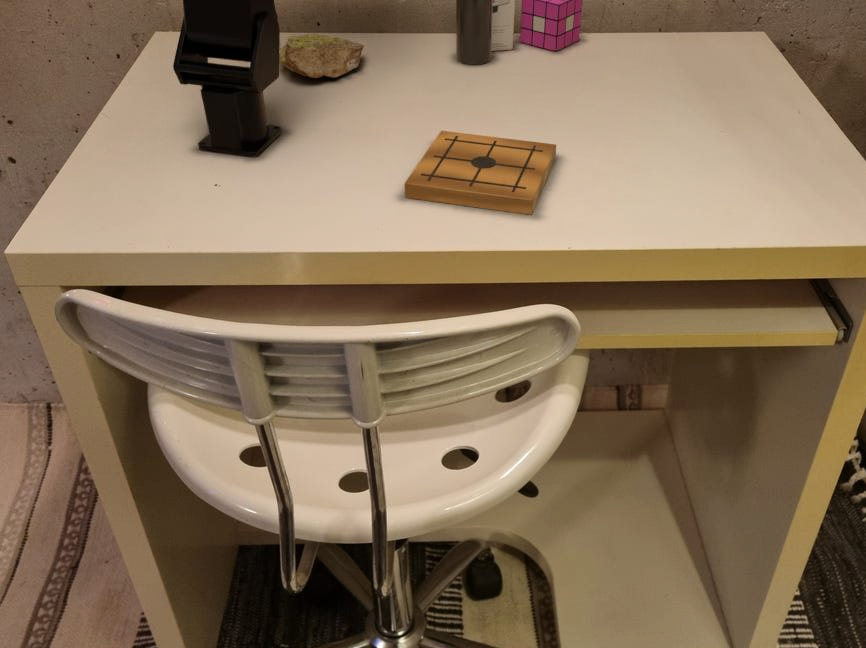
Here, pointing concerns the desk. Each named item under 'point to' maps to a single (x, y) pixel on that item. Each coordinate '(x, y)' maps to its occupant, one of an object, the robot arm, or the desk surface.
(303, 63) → the rock
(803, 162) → the desk surface
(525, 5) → the puzzle toy
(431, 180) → the game board
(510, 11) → the ink box
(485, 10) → the black round pillar
